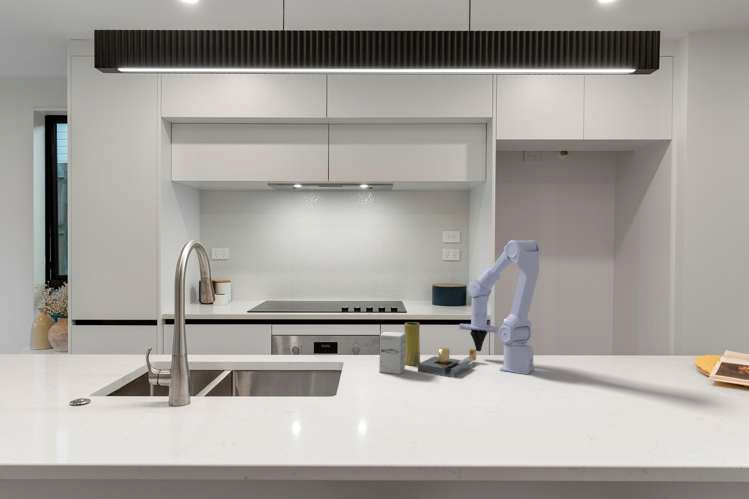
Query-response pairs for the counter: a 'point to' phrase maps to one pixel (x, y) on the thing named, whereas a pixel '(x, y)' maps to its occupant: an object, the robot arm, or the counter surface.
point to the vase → (412, 344)
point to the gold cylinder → (444, 356)
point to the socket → (443, 367)
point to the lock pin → (470, 358)
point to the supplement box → (392, 352)
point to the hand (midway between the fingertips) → (478, 350)
